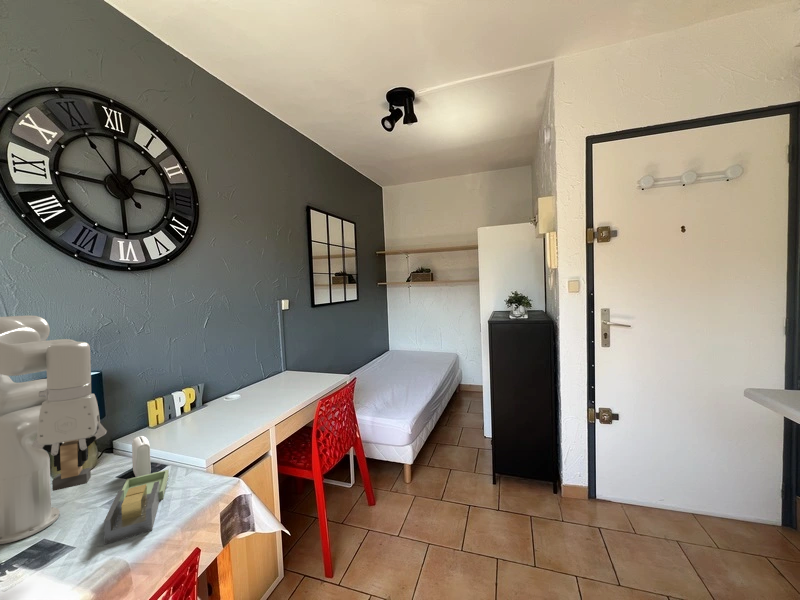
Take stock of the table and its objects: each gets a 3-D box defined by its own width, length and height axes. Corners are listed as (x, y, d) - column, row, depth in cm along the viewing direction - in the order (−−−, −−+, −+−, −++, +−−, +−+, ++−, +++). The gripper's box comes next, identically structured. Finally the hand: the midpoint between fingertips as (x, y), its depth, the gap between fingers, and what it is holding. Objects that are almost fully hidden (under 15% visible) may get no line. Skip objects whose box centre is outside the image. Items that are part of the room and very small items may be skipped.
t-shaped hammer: (52, 491, 76) (51, 448, 76) (57, 484, 79) (56, 442, 78) (86, 483, 79) (85, 442, 79) (90, 477, 82) (89, 437, 81)
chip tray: (115, 512, 91) (115, 503, 91) (127, 486, 103) (126, 479, 103) (163, 499, 97) (163, 490, 97) (168, 476, 109) (168, 469, 109)
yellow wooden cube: (121, 520, 83) (121, 505, 83) (125, 511, 87) (125, 497, 87) (141, 514, 85) (140, 500, 85) (144, 506, 89) (143, 492, 89)
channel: (104, 544, 79) (103, 521, 79) (118, 512, 91) (118, 491, 91) (152, 530, 84) (151, 507, 84) (159, 500, 96) (159, 481, 96)
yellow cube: (125, 510, 87) (125, 496, 87) (129, 502, 91) (128, 488, 91) (144, 505, 89) (144, 491, 89) (147, 497, 93) (146, 484, 93)
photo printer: (131, 470, 113) (130, 435, 113) (146, 465, 116) (145, 431, 116) (136, 481, 106) (135, 444, 106) (152, 475, 109) (151, 440, 109)
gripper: (12, 403, 71) (14, 484, 71) (109, 391, 79) (111, 464, 79) (29, 393, 77) (31, 468, 78) (117, 384, 86) (118, 451, 86)
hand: (71, 465), depth 79 cm, fingers closed on t-shaped hammer, 3 cm apart
